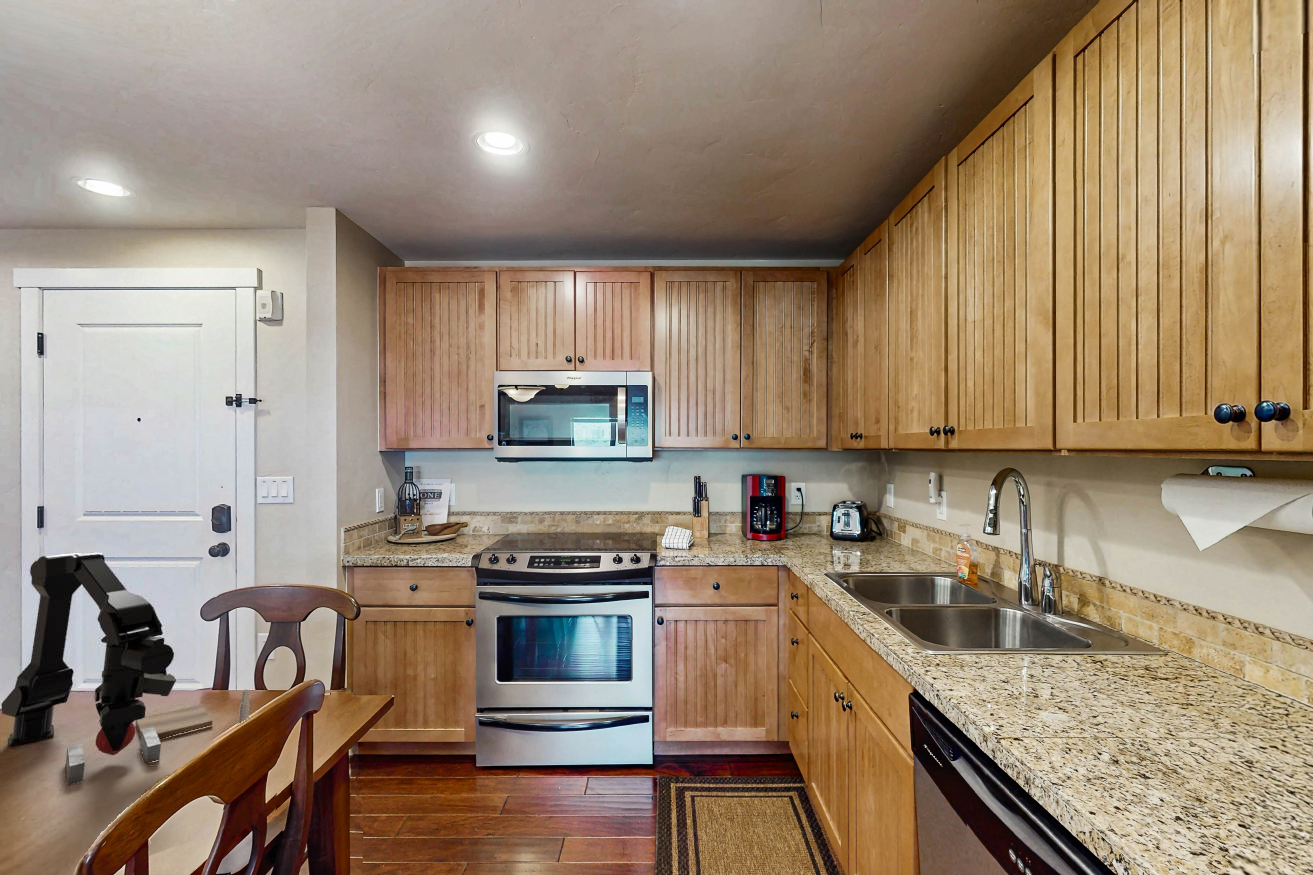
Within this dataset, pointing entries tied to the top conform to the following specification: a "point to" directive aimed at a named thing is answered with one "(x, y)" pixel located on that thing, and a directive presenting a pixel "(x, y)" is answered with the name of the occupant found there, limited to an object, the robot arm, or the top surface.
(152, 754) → the twin grey rails
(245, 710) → the screw
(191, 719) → the tan board
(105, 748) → the onion
